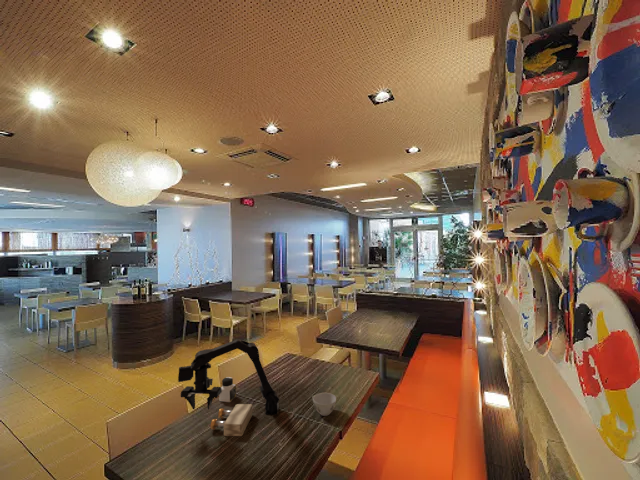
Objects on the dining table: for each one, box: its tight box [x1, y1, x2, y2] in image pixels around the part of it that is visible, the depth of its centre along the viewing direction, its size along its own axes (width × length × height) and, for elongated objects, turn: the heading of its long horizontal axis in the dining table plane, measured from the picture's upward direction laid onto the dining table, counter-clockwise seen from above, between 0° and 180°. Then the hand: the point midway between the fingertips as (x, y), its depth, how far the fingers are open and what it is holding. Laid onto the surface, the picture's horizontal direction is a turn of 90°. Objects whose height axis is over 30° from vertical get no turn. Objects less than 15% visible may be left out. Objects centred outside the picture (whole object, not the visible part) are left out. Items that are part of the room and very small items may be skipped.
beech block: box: [223, 403, 253, 437], centre depth 144 cm, size 9×17×6 cm, turn 177°
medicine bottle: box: [218, 376, 237, 403], centre depth 169 cm, size 7×7×12 cm
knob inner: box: [217, 407, 233, 419], centre depth 149 cm, size 10×4×4 cm, turn 87°
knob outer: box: [209, 418, 226, 431], centre depth 140 cm, size 10×4×4 cm, turn 87°
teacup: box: [311, 392, 337, 417], centre depth 153 cm, size 15×12×8 cm
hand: (201, 409), depth 141 cm, fingers open, 7 cm apart
